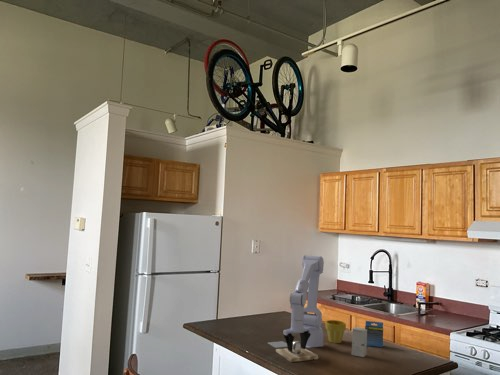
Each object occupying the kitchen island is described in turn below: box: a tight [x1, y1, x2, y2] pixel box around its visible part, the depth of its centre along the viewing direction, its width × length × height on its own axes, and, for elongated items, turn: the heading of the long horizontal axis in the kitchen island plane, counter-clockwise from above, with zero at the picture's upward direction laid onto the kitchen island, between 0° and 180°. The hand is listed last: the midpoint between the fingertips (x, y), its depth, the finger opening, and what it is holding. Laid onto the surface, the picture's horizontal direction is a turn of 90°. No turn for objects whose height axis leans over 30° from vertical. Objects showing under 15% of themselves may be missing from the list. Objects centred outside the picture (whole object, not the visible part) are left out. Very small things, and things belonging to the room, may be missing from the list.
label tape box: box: [364, 320, 384, 348], centre depth 212 cm, size 9×4×12 cm, turn 74°
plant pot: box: [325, 319, 347, 344], centre depth 217 cm, size 10×10×10 cm
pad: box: [267, 340, 288, 349], centre depth 206 cm, size 9×9×1 cm
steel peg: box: [292, 340, 301, 355], centre depth 190 cm, size 4×4×6 cm
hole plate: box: [275, 347, 319, 363], centre depth 190 cm, size 14×14×2 cm
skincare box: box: [351, 326, 367, 358], centre depth 195 cm, size 6×4×12 cm
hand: (296, 349), depth 190 cm, fingers open, 7 cm apart
